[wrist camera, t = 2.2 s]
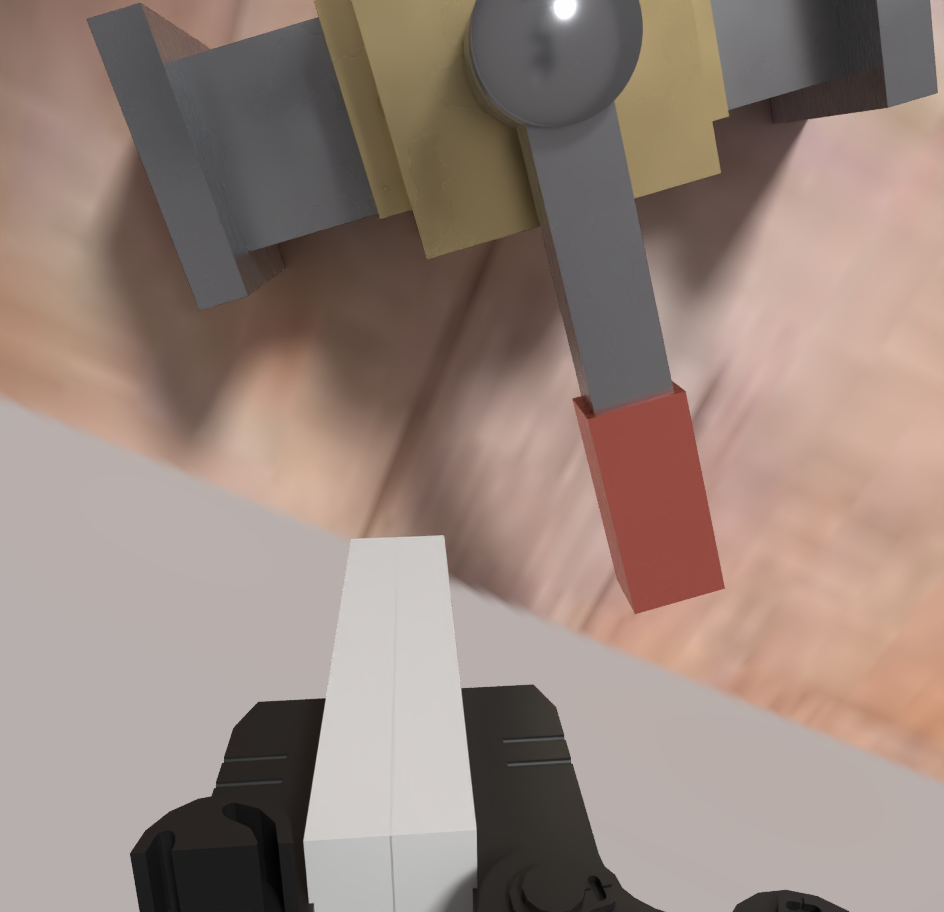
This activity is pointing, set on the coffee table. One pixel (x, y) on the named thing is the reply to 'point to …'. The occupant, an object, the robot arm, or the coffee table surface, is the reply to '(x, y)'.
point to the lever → (601, 278)
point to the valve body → (454, 115)
